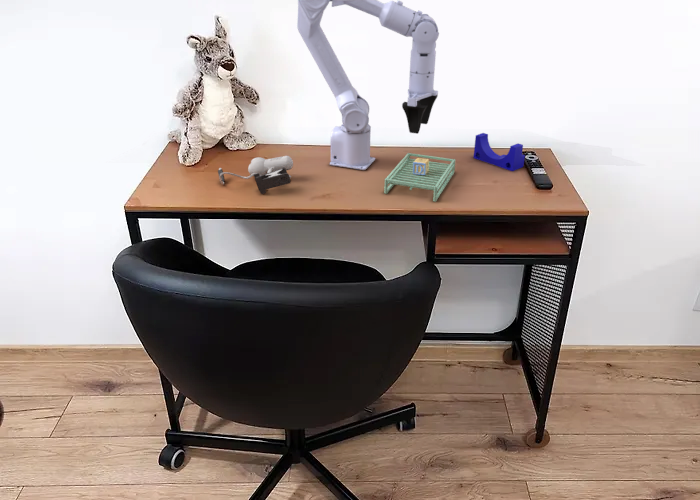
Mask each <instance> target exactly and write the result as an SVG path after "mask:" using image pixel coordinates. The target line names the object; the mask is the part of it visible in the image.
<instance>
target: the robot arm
mask: <svg viewBox="0 0 700 500" xmlns="http://www.w3.org/2000/svg"><path fill="white" fill-rule="evenodd" d="M330 2H331V8H335V7H338V6H344V5H345V6H349V7H351V8H353V9H356V10H358V11H361V12H363V13H366V14H368V15H370V16H373V17H376V18H378V19H379V22H380V25H381V27H383V28H386V29H388V30H390V31H392V32H395V33H396V34H399V35H401V36H404V37H407V38H410V37H411V38H412V40H411V41H412V42H411V44H412V45H411V50H410V57H409V58H410V59H409V78H408V89H407V96H408V97H407V101H403V102H402V104H401V107H402V110H403V112H404V114H405V117H406V121H407V127H408V131H409V133H410V134H419V133H420V129H421V125H427V124H428V123H429V120H430V118H431V117H430V116H431V112H432V109H433V107H434V104H435V102H436V100H437V98H438V96H439V91H438V90H435V89H434V84H435V70H436V58H437V57H436V56H437V51H436V48H437V40H438V38H439V35H440V32H439V28H438V25H437V22H436V21H435V20H434V18H433V17H431V16H430V15H429V14H428V13H423V11H421V10H417V11H416V10H414V9H412V8H410V7H408V6H405V5H404V2H403V1H402V0H397V1H394V0H390V1H388V2H385V3H384V2H382V1H379V0H297V23H296V24H297V25H296V26H297V27H296V28H297V31H298V33H299V35H300V37H301V38H302V40H303V42H304V44H305V46H306V47H307V49H308V52H309V53H310V55H311V56H312V58H313V60H314V62H315V63H316V66H317V68H318V70H319V71H320V72H321V75H322V77H323V78H324V80H325V82H326V84H327V86H328V87H329V89H330V91H331V92H332V94H333V96H334V99H335V101H336V104H337V108H338V110H339V112H340V114H341V123H342V124H341V125H339V126H337V125H336V126H334V127H333V129H332V130H331V133H330V162H329V166H333V167H340V168H347V169H355V170H360V171H366V169H368V168H369V167H370V166H371V165H372V164H373V163H374V161H376V157H373V156H371V131H372V129H371V128H372V126H371V125H370V123H369V122H370V117H369V115H370V105H369V103H368V101H367V100H366V99H365V98H363V97H362V96H361V95H360V94H359V92H358V90H357V88H355V86H354V85H352V82H351V80H350V79H349V77H348V75H347V73H346V71H345V69H344V67H343V66H342V64H341V62H340V60H339V58H338V57H337V55H336V53H335V51H334V49H333V47H332V45H331V43H330V41H329V40H328V38H327V36H326V34H325V32H324V30H323V29H322V26H321V22H322V20H323V19H322V18H323V15H324V12H325V10H326V9H327V7H328V5H329V4H330Z"/></svg>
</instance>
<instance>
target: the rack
mask: <svg viewBox="0 0 700 500" xmlns="http://www.w3.org/2000/svg"><path fill="white" fill-rule="evenodd" d="M411 157H416V159H417V158H422V159H429V171H428V172H427V173H426V175H417V174H413V162H414V161H415V160H416V159H415V158H411ZM430 159H431V160H437V161H438V162H437V161H431V160H430ZM439 161H444V162H439ZM445 161H446V162H450V163H445ZM455 171H456V158H447V157H442V156H441V157H439V156H432V155H427V154H426V155H425V154H419V153H413V152H412V153H411V152H407V153H406V155H405V156H404V157H403V158H402V159H400V161H399V162H398V164H396V166H395V167H394V168H393V169H392V170H391V172H390V173H389V174H388V175H387V177H385V178H384V187H383V188H384V189H383V190H384V191H383V192H384V193H383V194H385V195H388V193H389V192H390V190H391V189H392V188H393V187H394V186H402V187H408V188H409V191H412V190H413V189H414V188H415V189H421V190H427V191H433V198H432V201H433V202H434V203H437V201H438V199H439V197H440V195H441V194H442V193H443V191H444V190H445V188H446V187H447V185H448V183H449V182H450V181H451V179H452V177H453V176H454V174H455Z"/></svg>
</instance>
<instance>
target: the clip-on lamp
mask: <svg viewBox="0 0 700 500" xmlns="http://www.w3.org/2000/svg"><path fill="white" fill-rule="evenodd" d="M293 166H294V160H293V159H292V157H291V156H289V155H284V156H276V157H272V158H267V159H265V158H264V157H261V156H260V157H259V156H258V157H254V158H252V159H251V160H250V163H249V164H248V168H247V171H248V173H249V176H244V175H243V176H242V175H240V174H236V173H233V172H229V171H227V172H226V171H225V172H224V170H223V169H222V167H219V168H218V170H217V175H218V179H219V183H220V184H221V185H222V186H223V185H225V183H226V178H225V175H229V176H232V177H233V176H234V177H236V178H240V179H244V180H249V179H251V178H253V179H254V181H255V184H256V186H257V189H258V191H259V193H260V195H264V194H266V193H267V190H270V189H274V188H278V187H281V186H285V185H289V184H291V178H292V175H291V174H289V173H288V172H287V171H290V170H292V168H293Z"/></svg>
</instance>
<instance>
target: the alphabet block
mask: <svg viewBox="0 0 700 500" xmlns="http://www.w3.org/2000/svg"><path fill="white" fill-rule="evenodd" d="M429 161H430V158H423V157H416V160H415V161H414V162H413V165H412V166H413V172H412V173H413V174H417V175H416V176H418V175H427V174H426V173H427V172H428V171H429ZM428 173H429V172H428Z"/></svg>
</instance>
